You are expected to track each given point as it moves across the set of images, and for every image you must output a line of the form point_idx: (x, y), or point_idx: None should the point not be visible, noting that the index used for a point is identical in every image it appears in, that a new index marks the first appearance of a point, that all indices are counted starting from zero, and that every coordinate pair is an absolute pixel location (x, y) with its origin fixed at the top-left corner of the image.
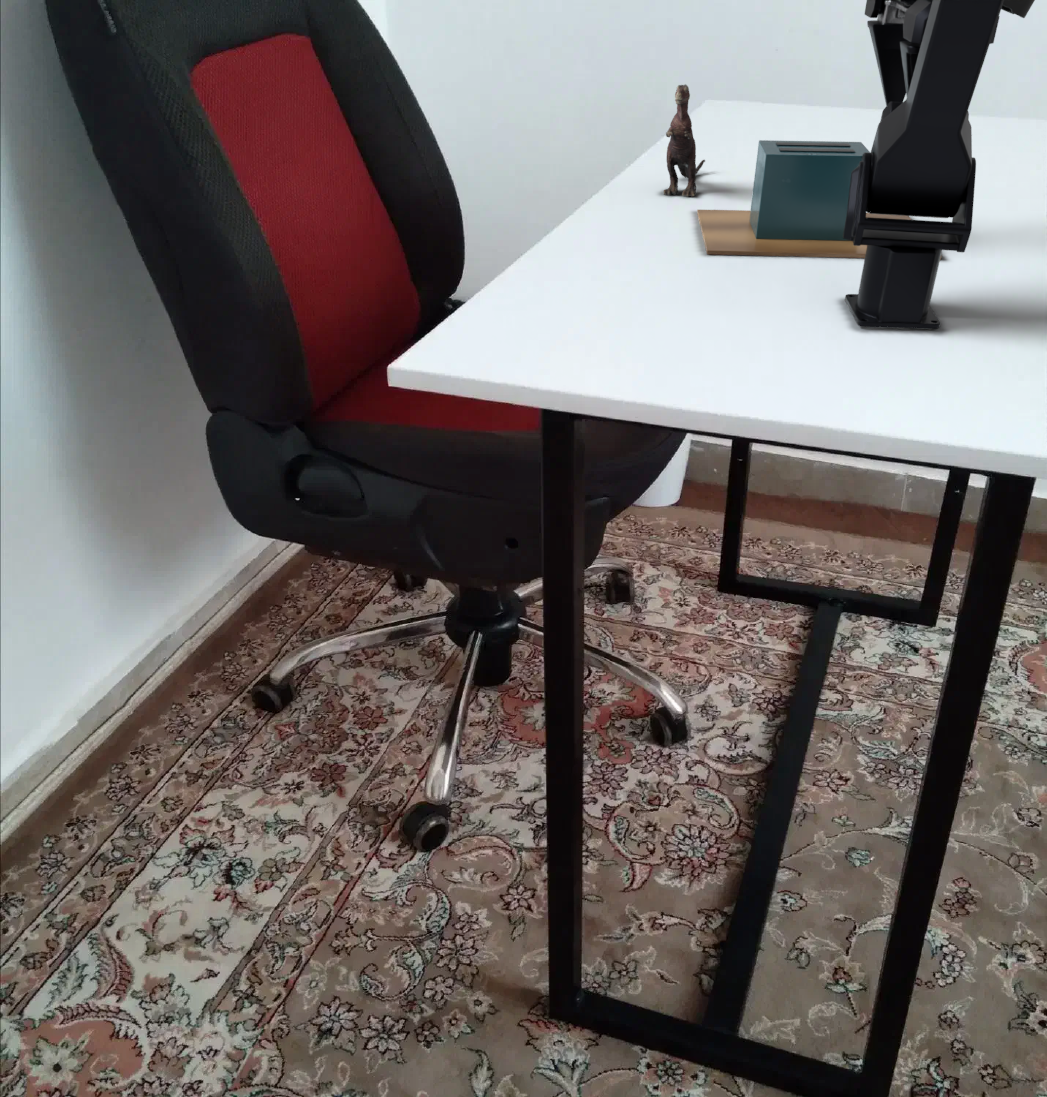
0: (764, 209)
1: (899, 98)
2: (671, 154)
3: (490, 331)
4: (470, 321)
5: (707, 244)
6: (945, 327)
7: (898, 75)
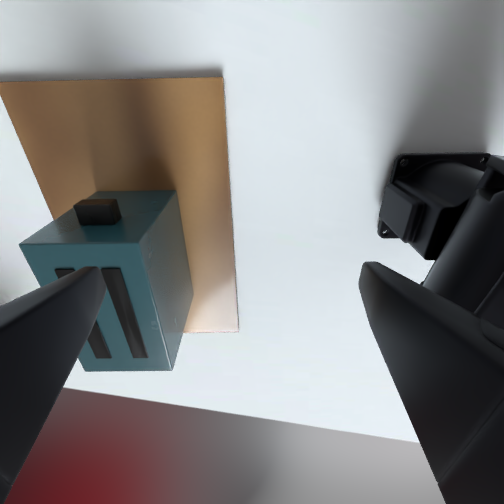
0: (187, 312)
1: (84, 288)
2: None
3: (394, 423)
4: (377, 430)
5: (220, 331)
6: (477, 141)
7: (46, 348)
